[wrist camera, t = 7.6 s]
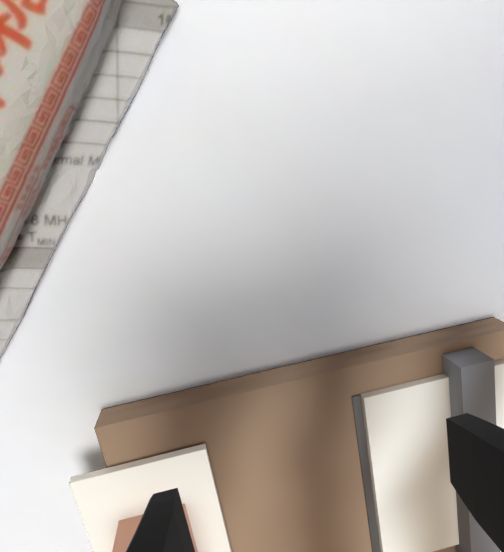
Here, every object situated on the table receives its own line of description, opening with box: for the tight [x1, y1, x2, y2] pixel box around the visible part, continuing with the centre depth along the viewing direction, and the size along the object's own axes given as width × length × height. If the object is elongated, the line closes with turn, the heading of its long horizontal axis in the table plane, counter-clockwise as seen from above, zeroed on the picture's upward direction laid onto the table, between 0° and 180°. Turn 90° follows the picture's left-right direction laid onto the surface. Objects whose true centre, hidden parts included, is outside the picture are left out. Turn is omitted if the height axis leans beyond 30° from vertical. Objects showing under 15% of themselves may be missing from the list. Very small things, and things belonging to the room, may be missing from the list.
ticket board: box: [94, 317, 504, 552], centre depth 20 cm, size 20×13×3 cm, turn 100°
